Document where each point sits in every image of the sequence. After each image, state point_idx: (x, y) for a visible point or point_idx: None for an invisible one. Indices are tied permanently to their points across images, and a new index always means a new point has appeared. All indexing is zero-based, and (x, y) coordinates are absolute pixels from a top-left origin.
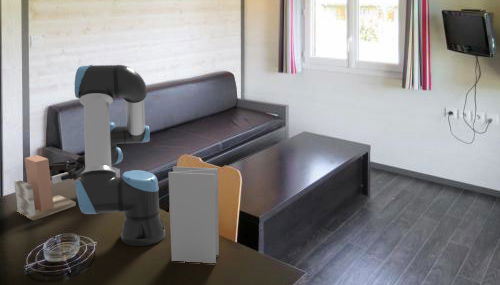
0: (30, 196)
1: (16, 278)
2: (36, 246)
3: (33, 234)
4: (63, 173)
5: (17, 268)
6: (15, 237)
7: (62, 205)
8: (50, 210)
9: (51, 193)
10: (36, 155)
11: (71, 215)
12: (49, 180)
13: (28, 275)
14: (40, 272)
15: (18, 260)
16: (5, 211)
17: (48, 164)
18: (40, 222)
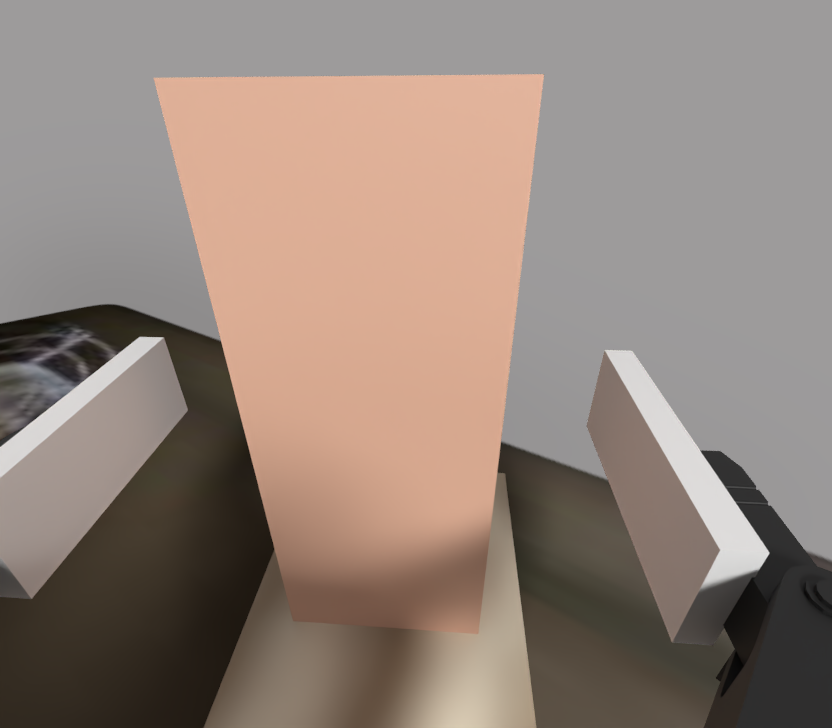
0: None
1: (82, 310)
2: None
3: (197, 416)
4: (23, 445)
5: (107, 323)
6: None
7: (240, 702)
8: (273, 568)
9: (271, 523)
10: (515, 75)
11: (81, 667)
12: (246, 402)
13: (51, 321)
14: (17, 334)
15: (132, 336)
16: (567, 468)
17: (185, 187)
18: (254, 487)
